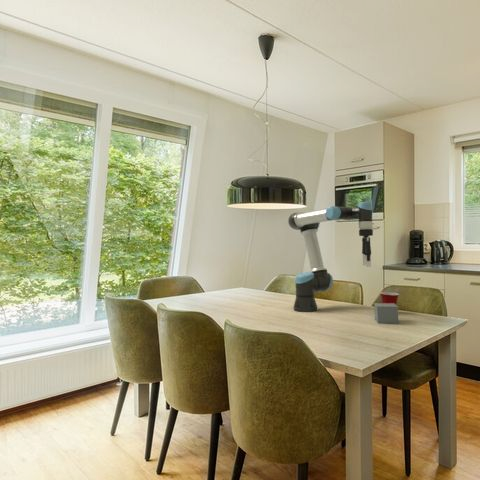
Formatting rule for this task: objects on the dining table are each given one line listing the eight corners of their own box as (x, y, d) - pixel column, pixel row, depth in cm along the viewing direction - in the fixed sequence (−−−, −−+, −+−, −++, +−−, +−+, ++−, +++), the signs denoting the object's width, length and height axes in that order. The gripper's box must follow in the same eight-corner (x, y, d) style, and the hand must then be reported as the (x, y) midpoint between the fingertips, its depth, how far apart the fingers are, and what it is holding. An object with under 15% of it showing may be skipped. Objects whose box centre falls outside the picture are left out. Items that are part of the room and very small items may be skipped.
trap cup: (377, 323, 196) (377, 306, 196) (374, 319, 206) (374, 303, 206) (398, 323, 194) (398, 306, 194) (394, 319, 204) (394, 303, 204)
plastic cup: (401, 314, 217) (401, 293, 217) (382, 314, 219) (381, 293, 219) (397, 311, 227) (397, 291, 227) (379, 310, 229) (378, 291, 229)
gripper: (376, 228, 201) (377, 267, 201) (369, 229, 226) (370, 264, 226) (361, 228, 203) (362, 267, 203) (356, 229, 227) (357, 264, 227)
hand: (366, 266), depth 214 cm, fingers open, 13 cm apart
